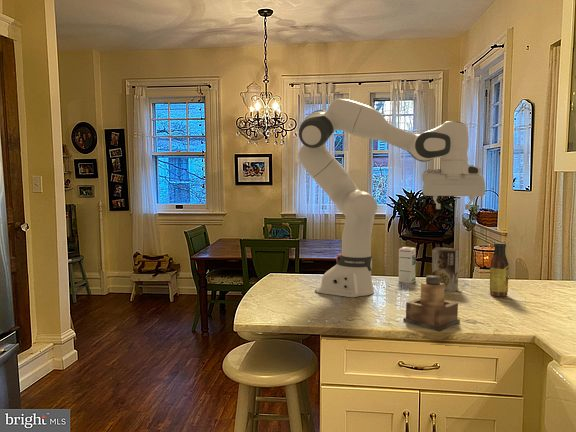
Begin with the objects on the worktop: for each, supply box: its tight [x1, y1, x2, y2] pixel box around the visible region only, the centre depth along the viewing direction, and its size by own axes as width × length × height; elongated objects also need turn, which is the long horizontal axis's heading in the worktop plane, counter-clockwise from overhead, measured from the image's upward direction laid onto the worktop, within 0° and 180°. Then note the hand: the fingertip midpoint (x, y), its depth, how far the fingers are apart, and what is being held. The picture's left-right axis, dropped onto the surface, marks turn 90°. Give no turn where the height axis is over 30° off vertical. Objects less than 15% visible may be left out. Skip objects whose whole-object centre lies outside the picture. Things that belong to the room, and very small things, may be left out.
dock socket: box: [403, 297, 461, 332], centre depth 136 cm, size 12×12×6 cm
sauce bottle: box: [489, 242, 510, 298], centre depth 167 cm, size 7×6×20 cm
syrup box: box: [398, 246, 417, 284], centre depth 189 cm, size 6×6×14 cm
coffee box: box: [431, 247, 460, 292], centre depth 176 cm, size 9×6×16 cm
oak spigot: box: [420, 274, 446, 308], centre depth 135 cm, size 5×5×13 cm
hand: (452, 209), depth 154 cm, fingers open, 8 cm apart
